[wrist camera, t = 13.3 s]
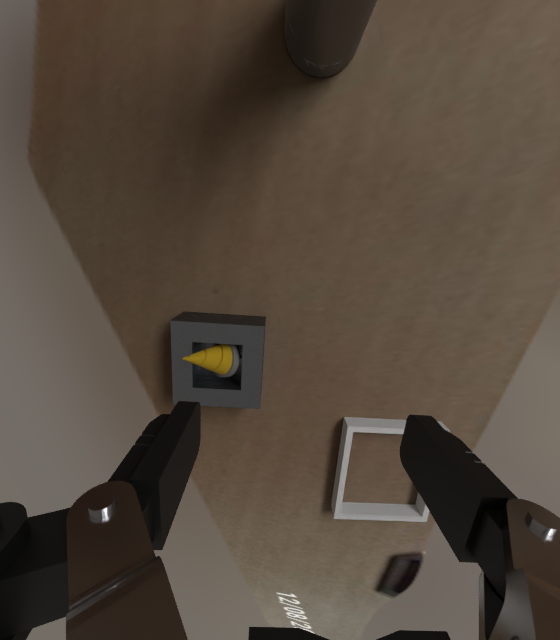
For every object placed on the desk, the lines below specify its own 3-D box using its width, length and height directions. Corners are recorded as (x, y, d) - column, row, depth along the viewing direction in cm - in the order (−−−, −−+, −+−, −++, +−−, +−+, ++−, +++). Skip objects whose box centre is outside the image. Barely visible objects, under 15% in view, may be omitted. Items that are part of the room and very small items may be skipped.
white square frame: (343, 416, 46) (347, 426, 43) (440, 421, 46) (450, 431, 44) (330, 505, 50) (333, 518, 48) (419, 509, 51) (426, 521, 49)
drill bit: (231, 376, 43) (171, 380, 35) (230, 343, 44) (172, 339, 36) (254, 375, 39) (193, 379, 32) (253, 339, 40) (194, 335, 33)
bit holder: (183, 311, 41) (170, 320, 35) (265, 316, 41) (264, 326, 36) (185, 385, 44) (172, 404, 38) (261, 389, 44) (259, 408, 39)
